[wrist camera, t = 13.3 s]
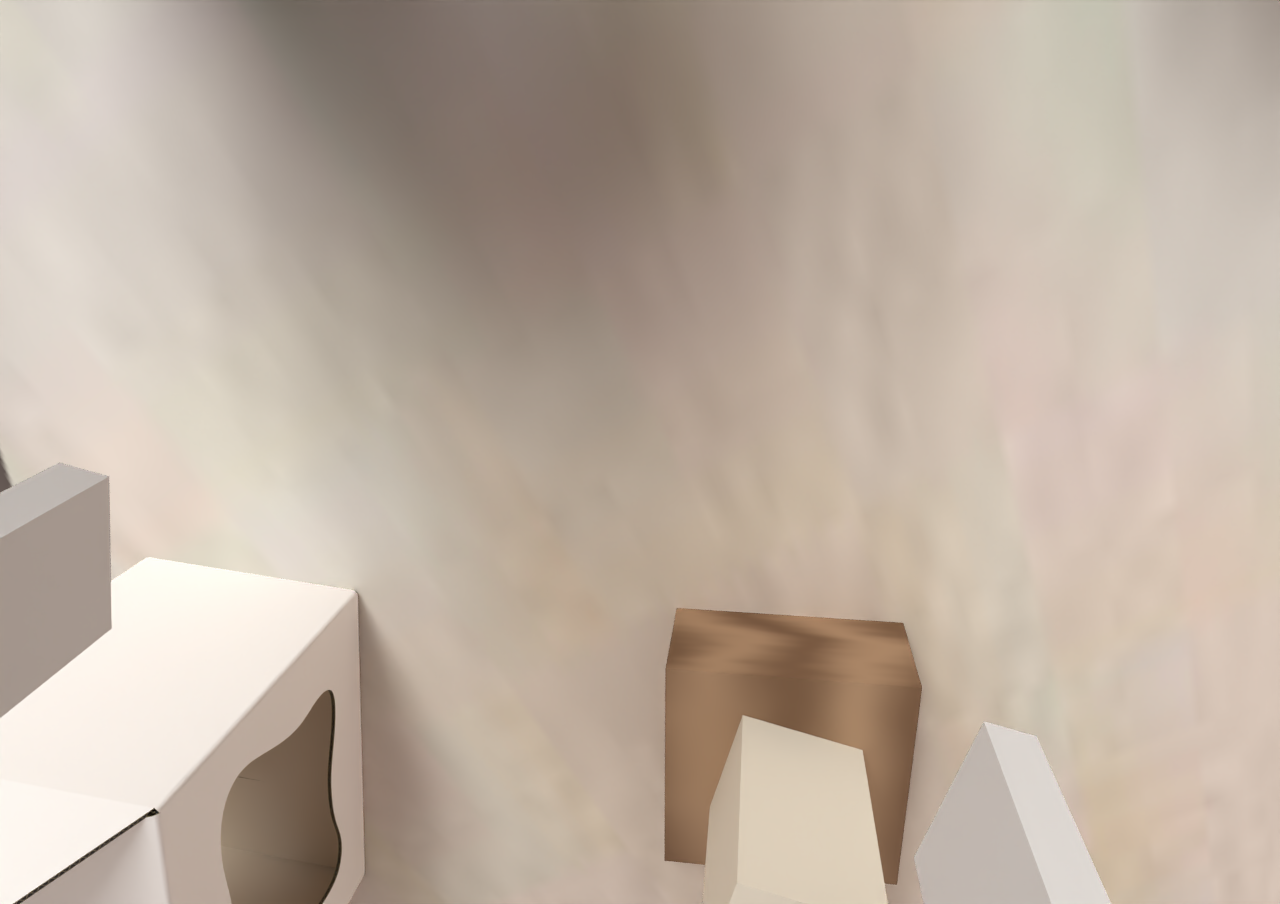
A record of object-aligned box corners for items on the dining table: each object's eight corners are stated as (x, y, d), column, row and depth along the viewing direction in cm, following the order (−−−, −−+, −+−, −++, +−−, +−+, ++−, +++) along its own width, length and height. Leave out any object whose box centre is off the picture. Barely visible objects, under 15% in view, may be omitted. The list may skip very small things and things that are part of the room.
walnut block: (675, 781, 51) (664, 860, 45) (677, 605, 46) (665, 668, 41) (881, 800, 49) (896, 884, 43) (902, 619, 45) (921, 687, 39)
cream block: (709, 806, 43) (695, 988, 34) (742, 715, 41) (737, 882, 32) (823, 840, 43) (840, 1033, 34) (862, 750, 41) (892, 929, 32)
